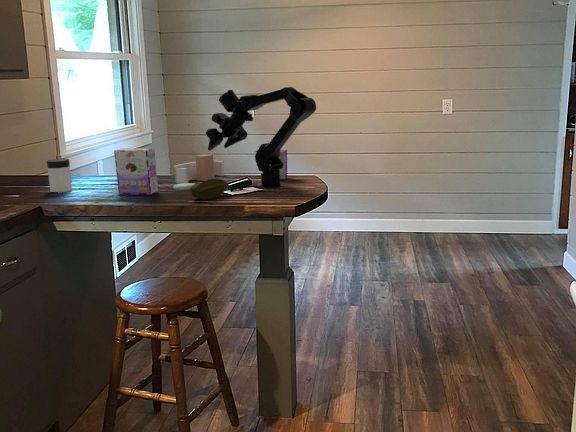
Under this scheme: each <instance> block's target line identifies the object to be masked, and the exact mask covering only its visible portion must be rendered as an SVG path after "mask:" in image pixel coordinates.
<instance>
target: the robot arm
mask: <svg viewBox="0 0 576 432" xmlns="http://www.w3.org/2000/svg"><path fill="white" fill-rule="evenodd" d="M283 100H284V101H285V103H286V104H287V106H288V107H289V108H290V109H289V116H288V117H287V119H286V120H285V121H284V122H283V124H282V125H281V127H280V128H279V129H278V131H277V132H276V133H275V135H274V136H273V137H272V139H271V140H270V142H268V143H262V144H260V145H259V146H258V149H257V150H256V151H255V155H254V160H255V163H256V166H257V170H258V171H259V172H261V173H260V185H261V186H262V187H263V189H264V188H265V189H266V188H280V187H282V185H281V180H280V170H279V169H282V168H283V162H282V161H281V160H280V159H279V156H280V150H282V148H283V147H284V145H285V144H286V143H287V142H288V140H289V139H290V137H291V136H292V135H293V133H294V132H295V130H296V129H297V128H298V127H299V126H300V124H301V123H302V122H304V121H305V120H307V119H308V118H309V117H310V116H312V115H313V114H314V113H315V112H316V110H317V104H316V103H317V102H316V101H315V100H314V99H313V98H311V97H309V96H307V95H306V94H305V93H302V92H300V91H298V90H297V89H296V88H295V87H292V86H285V87H282V88H280V89H275V90H271V91H268V92H265V93H260V94H248V95H247V94H246V95H241V96H240V97H238V96H237V95H236V93H235V92H234V90H233V89H228V90H227V91H226V92H224V93H222V95H220V96H219V97H218V102H219V103H220V104H221V106H222V107H223V108H224V110H225V111H226V113H227V112H228V113H231V115H230V116H228V115H227V114H225V113H223V112H217V113H213V115H211V121H212V122H213V123H215V124H217V125H218V126H219V127H218V128H219V129H220V130H221V131H219V129H218V128H217V127H214V128H208V129H207V130H206V131H205V135H206V137H207V138H208V139H209V141H208V142H209V143H208V147H207V150H208V151H209V152H211V151H212V150H215V148H217V147H219V146H220V145H221V144H222V142H223V141H224V139H226V142H225V143H224V145H223V148H224V149H227V148H229V147H231V146H233V145H235V144H238V143H239V142H242V141H244V140H246V139H247V137H248V132H247V131H246V129H245V128H244V127H243V126H244V124H245V123H246V122H253V121H254V118H253V113H250V111H257V110H259V109H261V108H262V107H264V106H265V105H267V104H271V103H275V102H278V101H279V102H280V101H283Z"/></svg>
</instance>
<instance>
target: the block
mask: <svg viewBox="0 0 576 432" xmlns="http://www.w3.org/2000/svg"><path fill="white" fill-rule="evenodd" d="M213 158H214V155H213V154H198V155H195V161H196V171H197V179H196V181H199V182H205V181H207V180H210V179H216V178H215V177H216V176H215V175H214V162H213Z"/></svg>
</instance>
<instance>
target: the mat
mask: <svg viewBox="0 0 576 432" xmlns="http://www.w3.org/2000/svg"><path fill="white" fill-rule="evenodd" d="M194 184H196V183H194V182H188V183H182V184H180V183H175V184H174V185H173V186H172V187H173V188H172V189H174V190H176V191H186V190H189V191H190V187H191V186H193V185H194Z"/></svg>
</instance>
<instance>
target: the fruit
mask: <svg viewBox="0 0 576 432" xmlns="http://www.w3.org/2000/svg"><path fill="white" fill-rule="evenodd" d="M228 185H229V182H226V181H225V180H223V179H220V178H215V179H210V180H207V181H201V182H198V183H195V184H194V185H193V186H191V187H190V190H189V191H190V192H191V197H192V198H195V199H199V200H202V201H203V200H204V201H205V200H206V199H208V200H212V199H211V198H213V199H215V198H217V197H219V196H221V195H222V194H223V193H225V192H226V190H227V188H228ZM206 201H207V200H206Z"/></svg>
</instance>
